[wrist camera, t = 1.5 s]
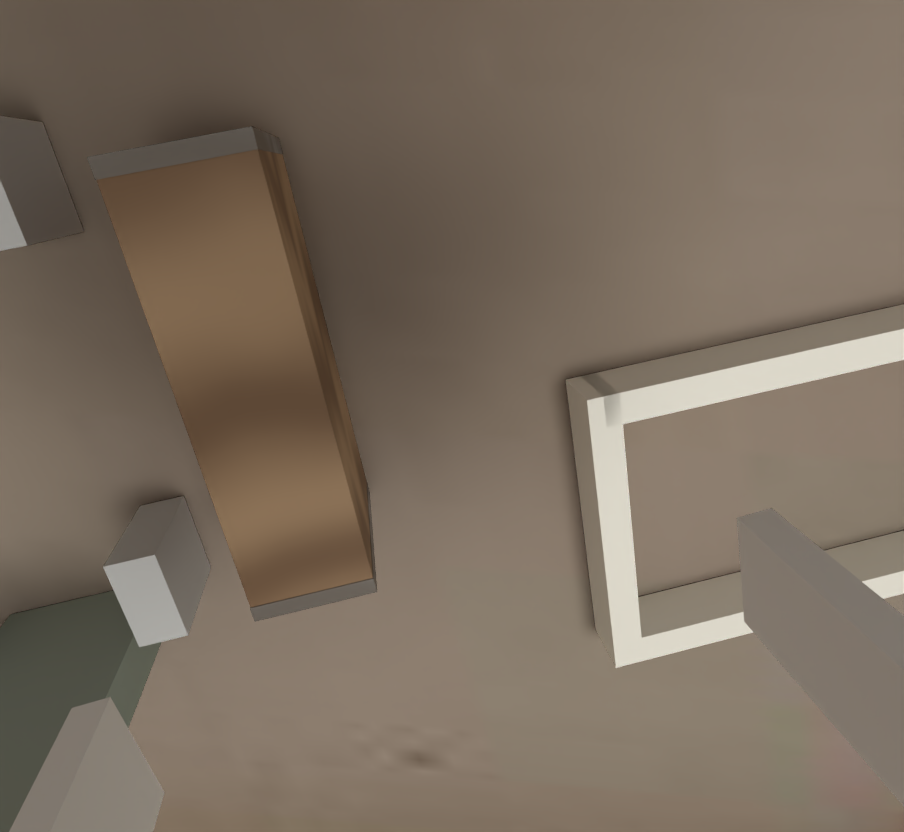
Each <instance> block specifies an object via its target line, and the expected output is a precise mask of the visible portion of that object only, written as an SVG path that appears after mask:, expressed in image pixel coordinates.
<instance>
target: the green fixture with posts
mask: <svg viewBox="0 0 904 832" xmlns="http://www.w3.org/2000/svg"><path fill="white" fill-rule="evenodd" d="M81 232H84V230H83V228H82V225H81V222H80V220H79V217H78V214H77V212H76V209H75V206H74V204H73V201H72V198H71V196H70V193H69V191H68V188H67V185H66V183H65V180H64V177H63V175H62V172H61V169H60V167H59V164H58V161H57V159H56V156H55V153H54V151H53V148H52V146H51V143H50V140H49V138H48V135H47V132H46V130H45V127H44V124H43V122H38V121H32V120H25V119H18V118H12V117H5V116H0V251H2V250H7V249H13V248H18V247H23V246H28V245H32V244H36V243H40V242H44V241H48V240H52V239H56V238H60V237H64V236H68V235H72V234H77V233H81ZM103 568H104V570H105V572H106V575H107V577H108V579H109V581H110V583H111V586H112V588H113V591H109V592H105V593H101V594H96V595H92V596H88V597H84V598H79V599H75V600H71V601H67V602H62V603H58V604H54V605H50V606H45V607H41V608H37V609H33V610H28V611H24V612H20V613H16V614H11V615H10V616H9V617H8V618H7V620H6V621H5V622H4V624H3V625H2V626H1V628H0V832H9V831H10V829H11V827H12V825H13V823H14V821H15V819H16V817H17V815H18V813H19V811H20V809H21V807H22V805H23V803H24V801H25V799H26V797H27V795H28V793H29V791H30V789H31V787H32V785H33V783H34V781H35V780H36V778H37V776H38V774H39V772H40V770H41V768H42V766H43V764H44V762H45V760H46V758H47V756H48V754H49V752H50V750H51V748H52V746H53V744H54V742H55V740H56V738H57V736H58V734H59V732H60V730H61V728H62V726H63V724H64V722H65V720H66V718H67V716H68V714H69V712H70V710H71V708H73V707H77V706H80V705H84V704H87V703H91V702H94V701H98V700H101V699H105V698H108V697H111V699H112V701H113V702H114V704H115V706H116V708H117V709H118V711H119V713H120V715H121V717H122V718H123V720H124V722H125V724H126V725H127V727H129V725H130V722H131V720H132V717H133V714H134V712H135V709H136V707H137V704H138V702H139V699H140V696H141V694H142V691H143V689H144V686H145V683H146V681H147V678H148V676H149V673H150V671H151V668H152V665H153V663H154V660H155V658H156V655H157V653H158V650H159V647H160V645H161V642H163V641H167V640H171V639H175V638H180V637H184V636H188V634H189V631H190V628H191V625H192V622H193V619H194V616H195V613H196V610H197V607H198V604H199V602H200V599H201V596H202V593H203V590H204V587H205V584H206V581H207V578H208V575H209V572H210V569H211V566H210V564H209V561H208V558H207V556H206V553H205V551H204V548H203V545H202V543H201V540H200V537H199V535H198V532H197V529H196V527H195V524H194V521H193V519H192V516H191V513H190V511H189V508H188V506H187V503H186V500H185V498H184V496H181V497H177V498H172V499H168V500H164V501H159V502H155V503H150V504H146V505H142V506H140V507H139V509H138V510H137V512H136V513H135V515H134V517H133V518H132V520H131V522H130V523H129V525H128V527H127V528H126V530H125V532H124V533H123V535H122V537H121V538H120V540H119V541H118V543H117V545H116V546H115V548H114V550H113V551H112V553H111V555H110V556H109V558H108V560H107V561H106V563H105V565H104V566H103Z"/></svg>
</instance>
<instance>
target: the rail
mask: <svg viewBox="0 0 904 832" xmlns="http://www.w3.org/2000/svg"><path fill="white" fill-rule="evenodd" d="M87 159H88V162H89V164H90V167H91V170H92V173H93V175H94V178H95V180H97V183H98V186H99V188H100V191H101V194H102V197H103V200H104V202H105V205H106V208H107V211H108V213H109V216H110V219H111V222H112V224H113V227H114V230H115V233H116V236H117V238H118V241H119V244H120V247H121V249H122V252H123V255H124V258H125V261H126V263H127V266H128V269H129V272H130V274H131V277H132V280H133V283H134V285H135V288H136V291H137V294H138V297H139V299H140V302H141V305H142V308H143V310H144V313H145V316H146V319H147V322H148V324H149V327H150V330H151V333H152V335H153V338H154V341H155V344H156V347H157V349H158V352H159V355H160V358H161V360H162V363H163V366H164V369H165V371H166V374H167V377H168V380H169V383H170V385H171V388H172V391H173V394H174V396H175V399H176V402H177V405H178V408H179V410H180V413H181V416H182V419H183V421H184V424H185V427H186V430H187V432H188V435H189V438H190V441H191V444H192V446H193V449H194V452H195V455H196V457H197V460H198V463H199V466H200V469H201V471H202V474H203V477H204V480H205V482H206V485H207V488H208V491H209V494H210V496H211V499H212V502H213V505H214V507H215V510H216V513H217V516H218V518H219V521H220V524H221V527H222V530H223V532H224V535H225V538H226V541H227V543H228V546H229V549H230V552H231V555H232V557H233V560H234V563H235V566H236V568H237V571H238V574H239V577H240V579H241V582H242V585H243V588H244V591H245V593H246V596H247V599H248V602H249V604H250V610H251V613H252V616H253V618H254V621H259V620H263V619H268V618H272V617H276V616H280V615H284V614H288V613H292V612H296V611H300V610H305V609H309V608H313V607H317V606H321V605H325V604H329V603H333V602H338V601H342V600H346V599H350V598H354V597H358V596H362V595H366V594H371V593H375V592H377V584H376V571H375V557H374V544H373V531H372V517H371V504H370V492H369V488H368V484H367V482H366V478H365V474H364V470H363V466H362V462H361V458H360V455H359V451H358V447H357V443H356V439H355V435H354V431H353V427H352V423H351V419H350V416H349V412H348V408H347V404H346V400H345V396H344V392H343V388H342V384H341V380H340V377H339V373H338V369H337V365H336V361H335V357H334V353H333V349H332V345H331V341H330V338H329V334H328V330H327V326H326V322H325V318H324V314H323V310H322V306H321V303H320V299H319V295H318V291H317V287H316V283H315V279H314V275H313V271H312V267H311V264H310V260H309V256H308V252H307V248H306V244H305V240H304V236H303V232H302V228H301V225H300V221H299V217H298V213H297V209H296V205H295V201H294V197H293V193H292V189H291V186H290V182H289V178H288V174H287V170H286V166H285V162H284V158H283V152H282V148H281V145H280V141H279V138H278V137H275V136H273V135H271V134H268V133H266V132H264V131H262V130H259V129H257V128H255V127H252V126H251V127H245V128H240V129H235V130H229V131H224V132H219V133H213V134H208V135H203V136H197V137H192V138H186V139H181V140H176V141H170V142H165V143H160V144H154V145H149V146H144V147H138V148H133V149H127V150H122V151H117V152H111V153H106V154H101V155H95V156H90V157H87Z"/></svg>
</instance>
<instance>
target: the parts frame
mask: <svg viewBox="0 0 904 832" xmlns="http://www.w3.org/2000/svg"><path fill="white" fill-rule="evenodd" d="M900 360H904V304H902V305H898V306H893V307H889V308H884V309H880V310H875V311H871V312H866V313H862V314H857V315H853V316H848V317H844V318H840V319H835V320H831V321H826V322H822V323H817V324H813V325H808V326H804V327H799V328H795V329H790V330H786V331H781V332H777V333H772V334H768V335H763V336H759V337H754V338H750V339H745V340H741V341H736V342H732V343H727V344H723V345H718V346H714V347H710V348H705V349H701V350H696V351H692V352H687V353H683V354H678V355H674V356H669V357H665V358H660V359H656V360H651V361H647V362H642V363H638V364H633V365H629V366H624V367H620V368H615V369H611V370H606V371H602V372H597V373H593V374H588V375H584V376H580V377H575V378H571V379H566V388H567V396H568V405H569V413H570V421H571V430H572V438H573V446H574V455H575V463H576V471H577V480H578V488H579V496H580V505H581V513H582V521H583V529H584V538H585V546H586V554H587V563H588V571H589V579H590V588H591V596H592V604H593V613H594V621H595V629H596V632H597V634H598V635H599V637H600V639H601V641H602V643H603V645H604V647H605V648H606V650H607V652H608V654H609V656H610V658H611V660H612V661H613V663H614V665H615V667H616V668H617V667H621V666H625V665H629V664H633V663H637V662H640V661H644V660H648V659H652V658H656V657H660V656H664V655H667V654H671V653H675V652H679V651H683V650H687V649H691V648H695V647H698V646H702V645H706V644H710V643H714V642H718V641H722V640H725V639H729V638H733V637H737V636H741V635H745V634H749V633H753V631H752V630H751V629H750V628H749V627H748V625H747V624H746V623H745V622H744V612H743V598H742V584H741V572H737V573H733V574H729V575H725V576H721V577H717V578H713V579H709V580H705V581H701V582H697V583H693V584H689V585H685V586H681V587H677V588H673V589H669V590H665V591H661V592H657V593H653V594H649V595H645V596H641V597H638V591H637V580H636V568H635V557H634V545H633V534H632V523H631V511H630V500H629V489H628V477H627V466H626V454H625V443H624V432H623V424H626V423H630V422H635V421H639V420H644V419H648V418H652V417H657V416H661V415H665V414H670V413H674V412H678V411H683V410H687V409H691V408H696V407H700V406H704V405H709V404H713V403H717V402H722V401H726V400H731V399H735V398H739V397H744V396H748V395H752V394H757V393H761V392H765V391H770V390H774V389H778V388H783V387H787V386H791V385H796V384H800V383H804V382H809V381H813V380H818V379H822V378H826V377H831V376H835V375H839V374H844V373H848V372H852V371H857V370H861V369H865V368H870V367H874V366H878V365H883V364H887V363H891V362H896V361H900ZM824 551H825V552H826V553H827V554H829V555H830V556H831V557H832V558H834V559H835V560H836V561H837V562H838V563H840V564H841V565H842V566H843V567H845V568H846V569H847V570H848V571H849V572H851V573H852V574H853V575H854V576H856V577H857V578H858V579H859V580H861V581H862V582H863V583H864V584H865V585H867V586H868V587H869V588H870V589H872V590H873V591H874V592H875V593H876V594H878V595H879V596H880V597H881V598H883V599H884V598H888V597H892V596H896V595H900V594H903V593H904V531H900V532H896V533H892V534H888V535H884V536H880V537H876V538H872V539H868V540H864V541H860V542H856V543H852V544H848V545H844V546H840V547H836V548H832V549H828V550H824Z"/></svg>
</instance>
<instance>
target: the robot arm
mask: <svg viewBox="0 0 904 832" xmlns="http://www.w3.org/2000/svg"><path fill="white" fill-rule="evenodd" d="M737 527H738V541H739V555H740V569H741V584H742V598H743V612H744V622H745V623H746V624H747V625H748V627H749V628H750V629H751V630H752V631H753V632H754V633H755V635H756V636H757V637H758V638H759V639H760V640H761V642H762V643H763V644H764V645H765V646H766V647H767V649H768V650H769V651H770V652H771V653H772V654H773V655H774V657H775V658H776V659H777V660H778V661H779V662H780V664H781V665H782V666H783V667H784V668H785V669H786V671H787V672H788V673H789V674H790V675H791V676H792V677H793V679H794V680H795V681H796V682H797V683H798V684H799V686H800V687H801V688H802V689H803V690H804V691H805V692H806V694H807V695H808V696H809V697H810V698H811V699H812V701H813V702H814V703H815V704H816V705H817V706H818V708H819V709H820V710H821V711H822V712H823V713H824V714H825V716H826V717H827V718H828V719H829V720H830V721H831V723H832V724H833V725H834V726H835V727H836V728H837V730H838V731H839V732H840V733H841V734H842V735H843V736H844V738H845V739H846V740H847V741H848V742H849V743H850V745H851V746H852V747H853V748H854V749H855V750H856V752H857V753H858V754H859V755H860V756H861V757H862V758H863V760H864V761H865V762H866V763H867V764H868V765H869V767H870V768H871V769H872V770H873V771H874V772H875V774H876V775H877V776H878V777H879V778H880V779H881V780H882V782H883V783H884V784H885V785H886V786H887V787H888V789H889V790H890V791H891V792H892V793H893V794H894V796H895V797H896V798H897V799H898V800H899V801H900V802H901V804H902V805H903V806H904V616H903V615H902V614H901V613H900V612H899V611H897V610H896V609H895V608H894V607H892V606H891V605H890V604H889V603H888V602H886V601H885V600H884V599H883V598H881V597H880V596H879V595H878V594H876V593H875V592H874V591H873V590H872V589H870V588H869V587H868V586H867V585H865V584H864V583H863V582H862V581H861V580H859V579H858V578H857V577H856V576H854V575H853V574H852V573H851V572H849V571H848V570H847V569H846V568H845V567H843V566H842V565H841V564H840V563H838V562H837V561H836V560H835V559H834V558H832V557H831V556H830V555H829V554H827V553H826V552H825V551H824V550H822V549H821V548H820V547H819V546H818V545H816V544H815V543H814V542H813V541H811V540H810V539H809V538H808V537H807V536H805V535H804V534H803V533H802V532H800V531H799V530H798V529H797V528H795V527H794V526H793V525H792V524H791V523H789V522H788V521H787V520H786V519H784V518H783V517H782V516H781V515H780V514H778V513H777V512H776V511H775V510H773V509H772V508H770V509H766V510H763V511H759V512H756V513H752V514H749V515H745V516H742V517H738V518H737ZM164 793H165V792H164V790H163V788H162V787H161V785H160V783H159V781H158V780H157V778H156V776H155V774H154V773H153V771H152V769H151V767H150V766H149V764H148V762H147V760H146V759H145V757H144V755H143V753H142V752H141V750H140V748H139V746H138V745H137V743H136V741H135V739H134V738H133V736H132V734H131V732H130V731H129V729H128V727H127V725H126V724H125V722H124V720H123V718H122V717H121V715H120V713H119V711H118V709H117V708H116V706H115V704H114V702H113V701H112V699H111V697H108V698H105V699H101V700H98V701H94V702H91V703H87V704H84V705H80V706H77V707H73V708H71V710H70V712H69V714H68V716H67V718H66V720H65V722H64V724H63V726H62V728H61V730H60V732H59V734H58V736H57V738H56V740H55V742H54V744H53V746H52V748H51V750H50V752H49V754H48V756H47V758H46V760H45V762H44V764H43V766H42V768H41V770H40V772H39V774H38V776H37V778H36V780H35V781H34V783H33V785H32V787H31V789H30V791H29V793H28V795H27V797H26V799H25V801H24V803H23V805H22V807H21V809H20V811H19V813H18V815H17V817H16V819H15V821H14V823H13V825H12V827H11V829H10V831H9V832H153V830H154V827H155V823H156V820H157V817H158V813H159V810H160V806H161V803H162V799H163V796H164Z"/></svg>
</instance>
